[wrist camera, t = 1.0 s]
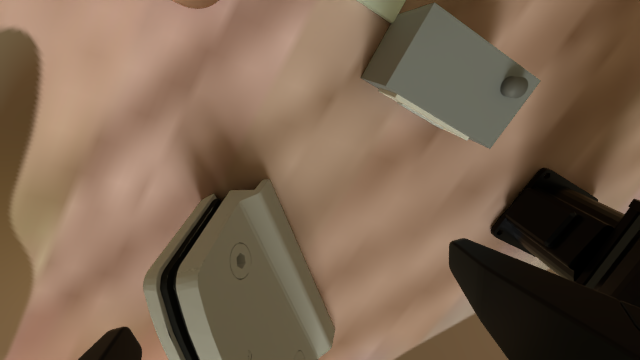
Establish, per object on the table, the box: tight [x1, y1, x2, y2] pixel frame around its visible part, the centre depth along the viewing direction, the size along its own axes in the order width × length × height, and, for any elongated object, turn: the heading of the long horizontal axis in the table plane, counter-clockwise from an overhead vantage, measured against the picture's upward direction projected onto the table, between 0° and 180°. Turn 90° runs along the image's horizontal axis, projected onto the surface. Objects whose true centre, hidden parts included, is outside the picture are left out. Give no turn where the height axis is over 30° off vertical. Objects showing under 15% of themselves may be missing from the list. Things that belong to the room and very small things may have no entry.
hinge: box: [143, 179, 335, 360], centre depth 21 cm, size 17×5×10 cm, turn 18°
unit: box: [361, 2, 540, 149], centre depth 17 cm, size 7×4×6 cm, turn 61°
